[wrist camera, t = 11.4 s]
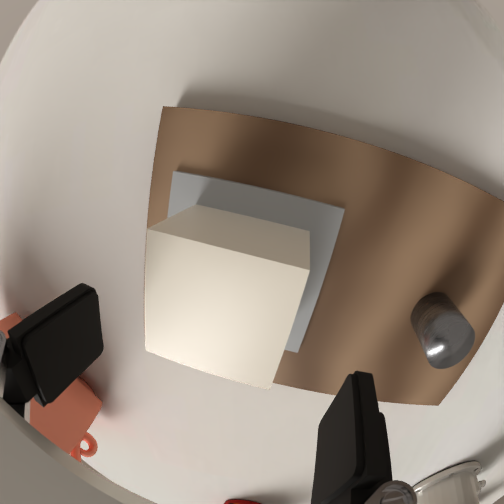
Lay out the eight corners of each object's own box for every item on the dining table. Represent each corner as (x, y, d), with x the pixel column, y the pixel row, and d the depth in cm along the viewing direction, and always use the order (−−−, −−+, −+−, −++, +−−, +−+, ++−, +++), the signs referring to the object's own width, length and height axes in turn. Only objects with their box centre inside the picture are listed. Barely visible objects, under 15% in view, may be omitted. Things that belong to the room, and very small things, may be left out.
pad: (343, 208, 14) (344, 209, 13) (297, 348, 17) (297, 352, 17) (176, 170, 15) (173, 171, 14) (163, 310, 18) (160, 313, 18)
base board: (522, 214, 12) (534, 219, 11) (433, 393, 18) (438, 405, 17) (174, 109, 15) (163, 106, 14) (153, 331, 21) (144, 341, 19)
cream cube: (309, 231, 14) (309, 270, 9) (281, 328, 16) (269, 389, 12) (195, 204, 15) (146, 228, 10) (184, 301, 17) (145, 350, 12)
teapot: (94, 448, 35) (50, 513, 19) (5, 362, 33) (-50, 414, 17) (141, 414, 26) (67, 534, 9) (7, 278, 24) (-95, 347, 8)
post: (459, 297, 14) (483, 327, 11) (438, 336, 15) (456, 370, 12) (422, 287, 14) (445, 318, 11) (402, 329, 15) (417, 366, 12)
